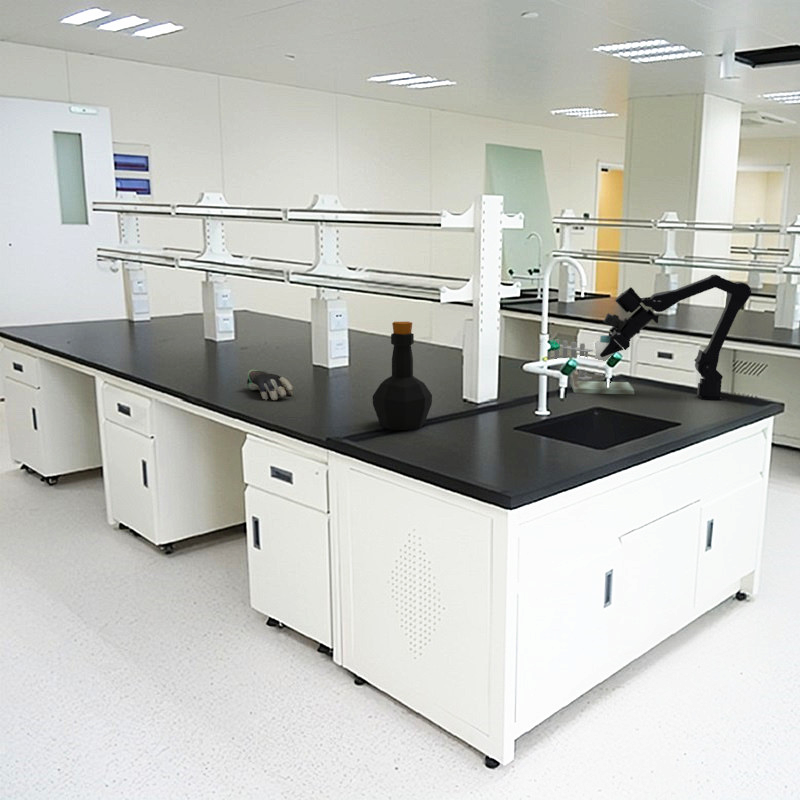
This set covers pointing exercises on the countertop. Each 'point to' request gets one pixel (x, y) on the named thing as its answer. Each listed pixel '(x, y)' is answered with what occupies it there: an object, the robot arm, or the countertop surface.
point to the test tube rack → (572, 354)
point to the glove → (269, 384)
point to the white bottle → (600, 347)
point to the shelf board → (599, 386)
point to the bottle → (402, 387)
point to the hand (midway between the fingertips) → (600, 354)
